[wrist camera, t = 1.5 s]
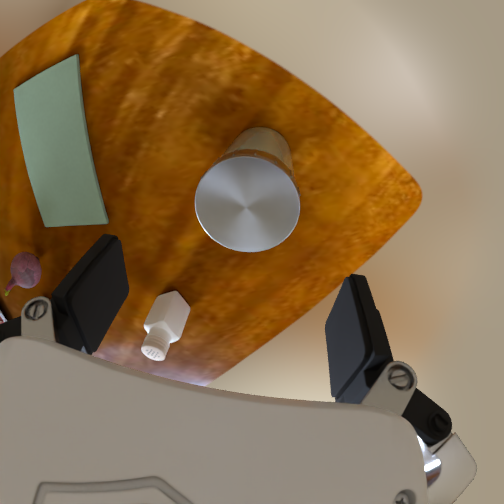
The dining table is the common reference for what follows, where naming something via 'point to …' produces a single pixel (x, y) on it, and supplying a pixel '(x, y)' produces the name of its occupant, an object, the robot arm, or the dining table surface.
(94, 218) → the mat
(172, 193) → the dining table surface
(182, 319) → the salt shaker
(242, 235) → the lid
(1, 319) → the ceramic plate
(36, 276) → the vegetable
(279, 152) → the cylinder
